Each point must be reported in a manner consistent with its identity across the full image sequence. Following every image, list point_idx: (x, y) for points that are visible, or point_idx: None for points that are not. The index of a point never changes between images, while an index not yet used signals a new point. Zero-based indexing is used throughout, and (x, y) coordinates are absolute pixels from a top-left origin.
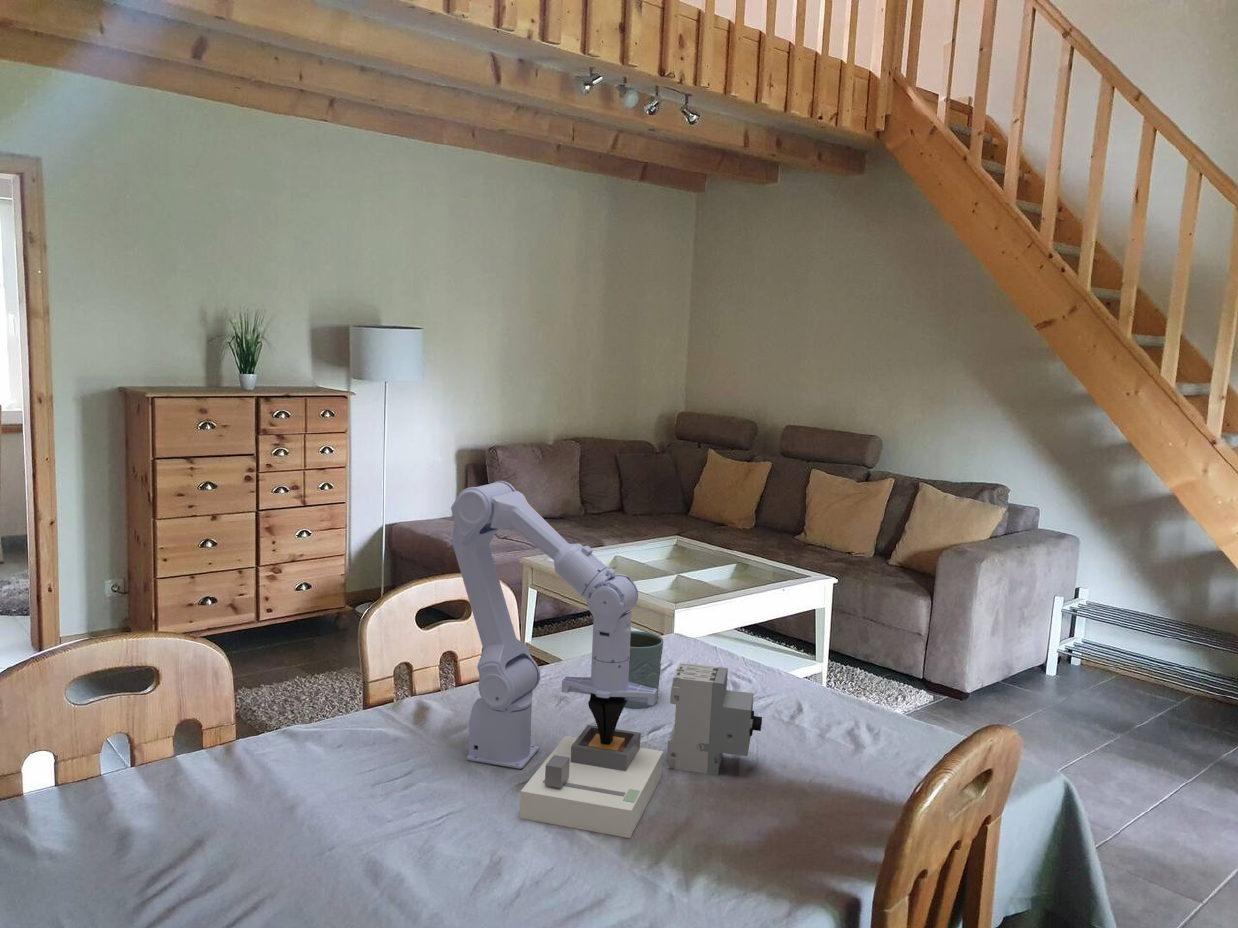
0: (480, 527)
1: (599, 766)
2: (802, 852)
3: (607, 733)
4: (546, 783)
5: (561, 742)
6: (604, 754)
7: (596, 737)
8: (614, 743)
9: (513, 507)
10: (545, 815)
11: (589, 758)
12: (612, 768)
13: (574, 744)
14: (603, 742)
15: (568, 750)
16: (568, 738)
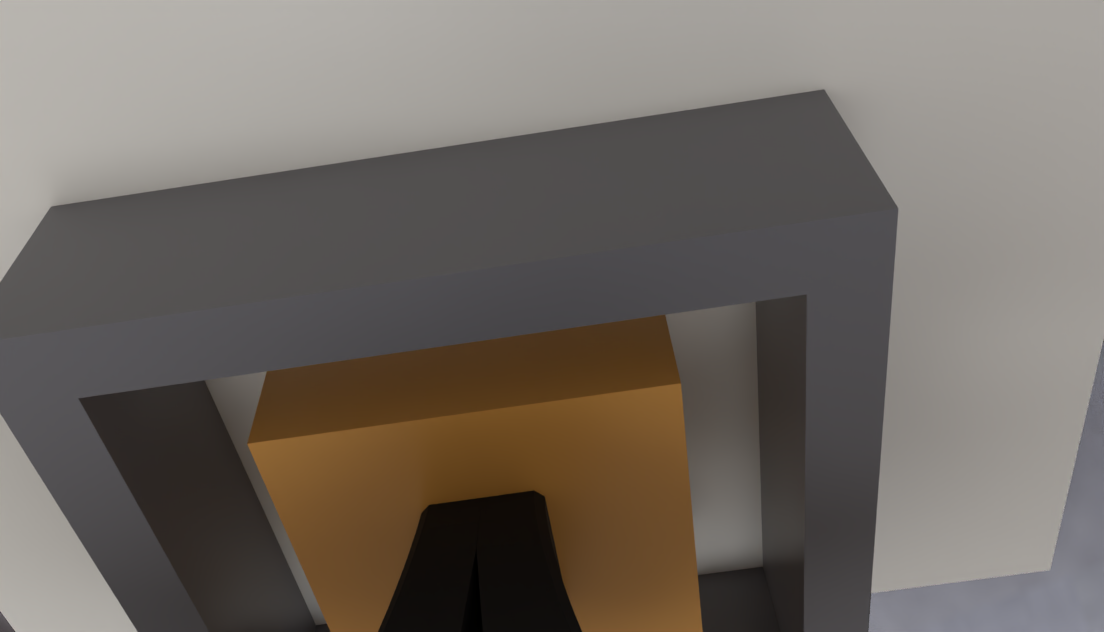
0: None
1: (412, 155)
2: None
3: (425, 626)
4: None
5: (1062, 451)
6: (323, 261)
7: (665, 586)
8: (388, 560)
9: None
10: None
11: (559, 173)
12: (233, 183)
13: (864, 283)
14: (498, 508)
15: (939, 338)
16: (1007, 541)
